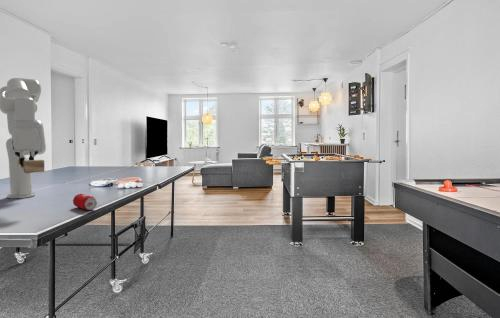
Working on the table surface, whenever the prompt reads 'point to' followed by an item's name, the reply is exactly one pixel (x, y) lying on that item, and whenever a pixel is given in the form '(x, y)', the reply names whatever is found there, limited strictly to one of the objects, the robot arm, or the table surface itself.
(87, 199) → the beverage can
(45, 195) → the table surface
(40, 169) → the curved plank on base
